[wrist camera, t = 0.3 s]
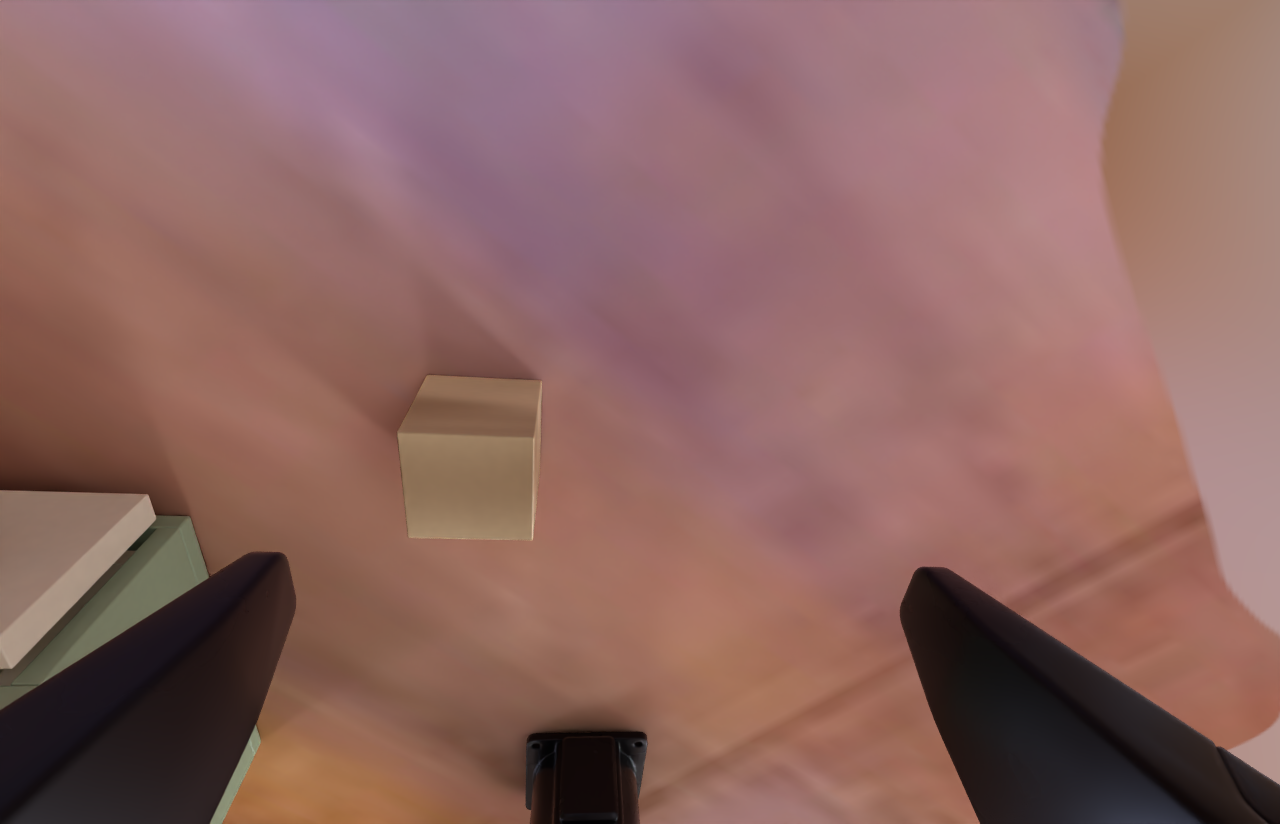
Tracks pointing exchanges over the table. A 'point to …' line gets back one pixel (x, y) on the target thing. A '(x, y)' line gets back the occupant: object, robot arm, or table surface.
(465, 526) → the block
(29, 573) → the drawer
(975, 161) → the table surface
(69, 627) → the cabinet
